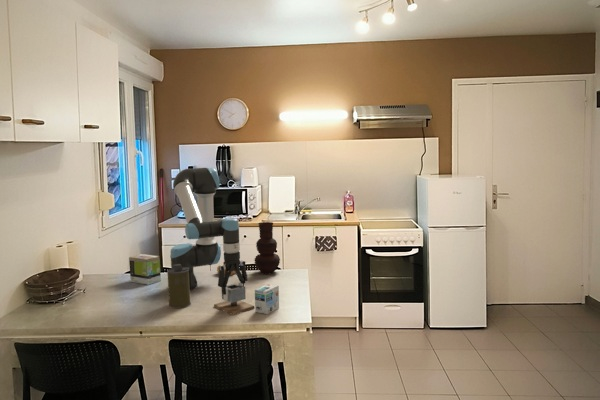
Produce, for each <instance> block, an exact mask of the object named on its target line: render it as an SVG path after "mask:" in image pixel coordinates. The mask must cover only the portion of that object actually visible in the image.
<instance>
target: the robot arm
mask: <svg viewBox="0 0 600 400" xmlns="http://www.w3.org/2000/svg"><path fill="white" fill-rule="evenodd" d="M220 185H221V184H220V177H219V174H218V172H217V170H216V169H215V168H213V167H197V168H185V169H182V170H180V171H179V172H178V174H176V175H175V177H174V180H173V182H172V189H173V192H174V194H175V195H176V196H177V197H178V200H179V203H180V206H181V209H182V211H183V214H184V217H185V220H186V224H185V226H184V232H185V237H186V238H187V239H188V240H196V241H195V245H193V244H192V243H190V242H188V243H187V242H186V243H181V244H177V245H174V246H173V247H171V249H170V256H169V257H170V267H171V268H170V269H172V268H174V267H173V266H174V265H175V264H181V265H182V267H184V268H188V267H189V268H190V274H191V289H190V291H192V290H194V289H197V287H198V285H199V284H198V281H197V278H196V274H195V273H194V272H195V271H194V268H198V267H204V266H212V265H216V264H218V263H219V262H220V260H221V257H222V249H223V262H224V261H225V263H224V265H222V266H219V265H218V266H219V273H218V282H217V287H220V288H221V287H222V288H221V295H222V294H224V300H223V302H224V301H228V288H227V287H226V286H227V285H228V284H229V279H230V276H231V275H230V274H231V272H232V271H235V272H236V273H235V274H236V276H237V277H236V278H238V281H239V282H238V283H237V284H239V285H242V286H245V284H246V283H247V282H248V281H249V280H248V274H247V270H246V269H247V268H246V261H244V260H240V259H241V252H240V250H241V249H240V224H239V220H238V218H234V217H228V218H224V219H218V220H214V219H215V217H214V215H215V213H214V196H215V194H216V193H217V190H219V189H220ZM195 196H196V197H195ZM196 199H197V201H196ZM217 237H222V243H223V244H222V248H221V244H220V243H219V242H218V240H217V239H216V238H217ZM172 265H173V266H172ZM225 268H226V269H225ZM224 270H225V275H224ZM228 271H229V272H228ZM189 286H190V276H189Z"/></svg>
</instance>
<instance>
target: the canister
mask: <svg viewBox="0 0 600 400" xmlns="http://www.w3.org/2000/svg"><path fill="white" fill-rule="evenodd" d="M172 266H173V265H172ZM173 267H174V268H172V269H171V268H169V269H167V271H166V274H167V285H168V286H167V287H168V303H169V304H168V306H169V308H172V309H182V308H183V309H184V308H187V307H189V306H191V305H192V302H191V292H190V291H191V290H190V289H191V274H190V268H189V267H188V268H184V267H182V265H181V264H175V265H174V266H173ZM189 276H190V286H189Z"/></svg>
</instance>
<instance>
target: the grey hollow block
mask: <svg viewBox="0 0 600 400" xmlns="http://www.w3.org/2000/svg"><path fill="white" fill-rule="evenodd" d="M226 287H227V288H228V302H230V303H233V302H237V301H244V300H246V298H247V296H246V286H245V285H244V286H242V285H239V284H238V283H231V284H227V286H226ZM220 289H222V287H220ZM221 300H223V301H224V294H222V293H221Z"/></svg>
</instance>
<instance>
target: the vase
mask: <svg viewBox="0 0 600 400" xmlns="http://www.w3.org/2000/svg"><path fill="white" fill-rule="evenodd" d="M257 225H258V231H259V233H258V234H259V239H258V240H257V241H256V243H255V245H256V246H255V247H256V250H257V253H258V254H257V255H256V256H255V257H254V258H253V261H254V262H253V263H254V265H255V267H256V268H257V270H258V271H259V272H260V274H262V275H272V274H274V273H275V272H276V270H277V268H278V267H279V265H280V261H281V259H280V256H279V254H276V251H277V248H278V243H277V240H276V239H275V238H273V234H274V233H273V231H274V226H273V225H274V222H273V221H262V222H258V223H257Z"/></svg>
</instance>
